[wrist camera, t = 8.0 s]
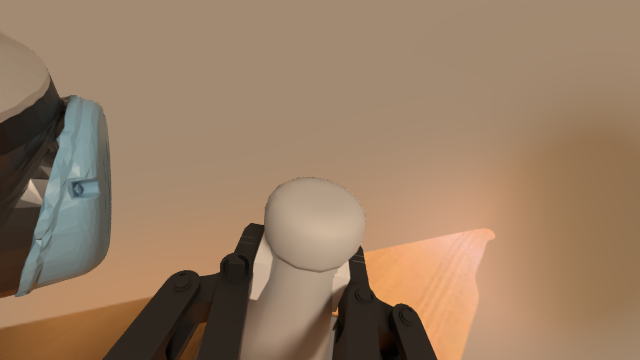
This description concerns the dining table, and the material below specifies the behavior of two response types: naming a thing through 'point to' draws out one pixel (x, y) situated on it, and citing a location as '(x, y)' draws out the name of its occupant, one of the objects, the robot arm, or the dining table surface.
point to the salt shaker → (302, 269)
